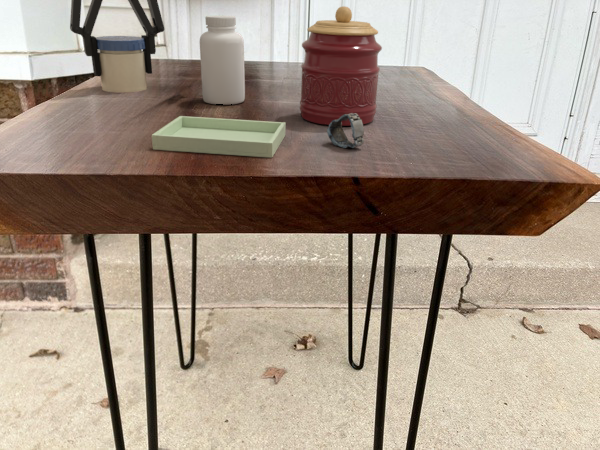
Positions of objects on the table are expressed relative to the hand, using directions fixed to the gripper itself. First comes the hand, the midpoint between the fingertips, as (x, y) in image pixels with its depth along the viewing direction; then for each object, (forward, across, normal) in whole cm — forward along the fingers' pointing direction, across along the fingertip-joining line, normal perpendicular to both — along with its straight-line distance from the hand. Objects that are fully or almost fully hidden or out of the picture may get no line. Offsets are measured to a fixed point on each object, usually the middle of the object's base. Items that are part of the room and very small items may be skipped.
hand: (123, 73), depth 97 cm
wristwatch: (+5, +21, -43) cm, 48 cm away
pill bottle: (+5, +16, -8) cm, 19 cm away
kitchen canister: (+5, +29, -28) cm, 41 cm away
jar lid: (-6, 0, 0) cm, 6 cm away
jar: (+5, 0, 0) cm, 5 cm away
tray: (+5, +6, -34) cm, 35 cm away
